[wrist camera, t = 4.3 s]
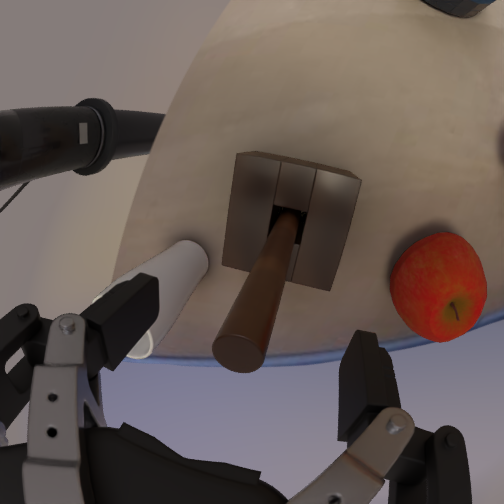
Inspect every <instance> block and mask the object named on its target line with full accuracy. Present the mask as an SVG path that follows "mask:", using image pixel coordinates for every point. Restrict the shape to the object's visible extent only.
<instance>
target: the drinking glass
mask: <svg viewBox="0 0 504 504" xmlns="http://www.w3.org/2000/svg"><path fill="white" fill-rule="evenodd" d="M208 265H209V263H208V257H207V254H206V252H205V251H204V249H203V248H202V247H201V246H200V245H198V244H197V243H195V242H193V241H190V240H181V241H178V242H176V243H175V244H173V245H172V246H171V247H169V248H168V249H166V250H164V251H163V252H161V253H159V254H157V255H156V256H154V257H152V258H150V259H149V260H147V261H145V262H143V263H142V264H140V265H138V266H137V267H135V268H133V269H131V270H130V271H128V272H126V273H125V274H123V275H122V276H120V277H119V278H118V279H116V280H115V281H114V282H112V283H111V284H110V285H109V286H108V287H106V288H105V289H104V290H103V291H102V292H101V293H100V294H99V295H98V296H96V297H95V299H94V300H93V302H92V304H93V303H94V302H95V301H96V300H98V299H99V298H100V297H102V295H104V294H105V293H106V292H108V291H109V290H110V289H111V288H112V287H114V286H115V285H116V284H118V283H121V282H123V281H126V280H129V281H130V280H131V279H132V278H133V277H135V276H136V275H137V274H138V273H140V272H142V273H145V274H148V275H151V276H155V277H157V278H158V280H159V303H160V310H159V315H158V317H157V320H156V321H155V322H154V324H153V325H152V326H151V327H150V328H149V329H148V331H147V332H146V333H145V334H144V335H143V336H142V338H141V339H140V340H139V341H138V342H137V344H136V345H135V346H134V347H133V348H132V349H131V351H130V352H129V353H128V354H127V355H126V356H127V357H130V358H134V359H143V358H146V357H148V356H149V355H150V354H151V353H152V352H153V351H154V349H155V348H156V347H157V346H158V345H159V344H160V342H161V341H162V340H163V339H164V337H165V336H166V335H167V333H168V332H169V331H170V329H171V328H172V326H173V325H174V323H175V321H176V320H177V318H178V316H179V315H180V313H181V311H182V310H183V308H184V306H185V305H186V303H187V301H188V300H189V298H190V296H191V295H192V293H193V291H194V290H195V288H196V287H197V285H198V283H199V282H200V280H201V279H202V278H203V277H204V275H205V274H206V272H207V270H208Z"/></svg>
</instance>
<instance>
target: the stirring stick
mask: <svg viewBox="0 0 504 504" xmlns="http://www.w3.org/2000/svg"><path fill="white" fill-rule="evenodd" d="M300 216H301V211H299V210H295V209H290V208H286V207H284V208H283V210H282V211H281V213H280V215H279V217H278V219H277V221H276V223H275V225H274V227H273V229H272V231H271V233H270V235H269V237H268V239H267V241H266V242H265V244H264V246H263V248H262V250H261V252H260V254H259V256H258V258H257V260H256V262H255V264H254V266H253V268H252V269H251V271H250V273H249V275H248V277H247V279H246V281H245V283H244V285H243V287H242V289H241V291H240V292H239V294H238V296H237V298H236V300H235V302H234V304H233V306H232V308H231V310H230V312H229V313H228V315H227V317H226V319H225V321H224V323H223V325H222V327H221V329H220V331H219V332H218V334H217V336H216V338H215V340H214V342H213V345H212V352H213V355H214V357H215V359H216V360H217V361H218V362H219V363H220V364H221V365H222V366H223V367H225V368H227V369H229V370H231V371H234V372H238V373H250V372H253V371H256V370H257V369H259V368H260V367H261V366H262V364H263V362H264V359H265V356H266V352H267V349H268V345H269V341H270V338H271V334H272V330H273V327H274V323H275V319H276V315H277V311H278V308H279V304H280V300H281V296H282V292H283V288H284V284H285V280H286V276H287V272H288V268H289V263H290V259H291V255H292V251H293V247H294V242H295V238H296V234H297V229H298V225H299V220H300Z"/></svg>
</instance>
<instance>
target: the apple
mask: <svg viewBox="0 0 504 504" xmlns="http://www.w3.org/2000/svg"><path fill="white" fill-rule="evenodd" d="M390 293H391V297H392V301H393V304H394V306H395V308H396V310H397V312H398V314H399V315H400V317H401V318H402V319H403V321H404V322H405V323H406V325H407V326H408V327H409V328H410V329H411V330H413V331H414V332H415V333H417V334H419V335H420V336H422V337H423V338H426V339H429V340H432V341H435V342H440V343H441V342H446V341H450V340H453V339H455V338H457V337H459V336H461V335H463V334H465V333H466V332H467V331H468V330H469V329H471V328H472V327H473V326H474V324H475V323H476V321H477V320H478V318H479V316H480V315H481V312H482V309H483V307H484V304H485V301H486V298H487V282H486V278H485V275H484V271H483V267H482V264H481V261H480V258H479V257H478V255H477V254H476V252H475V250H474V249H473V247H472V246H471V245H470V244H469V243H468V242H467V241H466V240H465V239H464V238H462V237H461V236H458V235H456V234H453V233H449V232H444V233H436V234H433V235H431V236H428V237H426V238H423V239H421V240H419V241H417V242H415V243H414V244H413V245H412V246H411V247H409V248H408V249H407V250H406V251H405V252H404V253H403V254H402V256H401V257H400V258H399V260H398V261H397V263H396V264H395V266H394V268H393V271H392V274H391V276H390Z"/></svg>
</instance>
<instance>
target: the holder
mask: <svg viewBox="0 0 504 504" xmlns="http://www.w3.org/2000/svg"><path fill="white" fill-rule="evenodd" d="M361 181H362V180H361V179H360V178H358V177H357V176H356V175H354V174H353V173H352V172H350V171H347V170H343V169H339V168H335V167H331V166H327V165H322V164H318V163H314V162H309V161H305V160H300V159H295V158H289V157H285V156H280V155H275V154H270V153H264V152H258V151H251V152H243V153H237V154H236V161H235V167H234V174H233V181H232V188H231V195H230V203H229V210H228V217H227V225H226V233H225V240H224V248H223V257H222V265H223V266H227V267H231V268H235V269H239V270H243V271H247V272H250V271H251V269H252V268H253V266H254V264H255V262H256V260H257V258H258V256H259V254H260V252H261V250H262V248H263V246H264V244H265V242H266V241H267V239H268V237H269V235H270V233H271V231H272V229H273V227H274V225H275V223H276V221H277V219H278V215H279V210H280V206H281V207H286V208H290V209H295V210H299V211H303V212H306V215H305V220H304V222H301V221H299V225H298V229H297V234H296V238H295V242H294V247H293V251H292V255H291V259H290V263H289V268H288V272H287V276H286V280H285V281H288V282H292V283H296V284H300V285H305V286H309V287H313V288H317V289H322V290H326V291H330V290H331V287H332V284H333V281H334V278H335V275H336V272H337V269H338V265H339V262H340V259H341V256H342V252H343V249H344V246H345V242H346V239H347V235H348V232H349V228H350V224H351V221H352V217H353V213H354V209H355V206H356V202H357V198H358V194H359V189H360V185H361Z"/></svg>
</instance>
